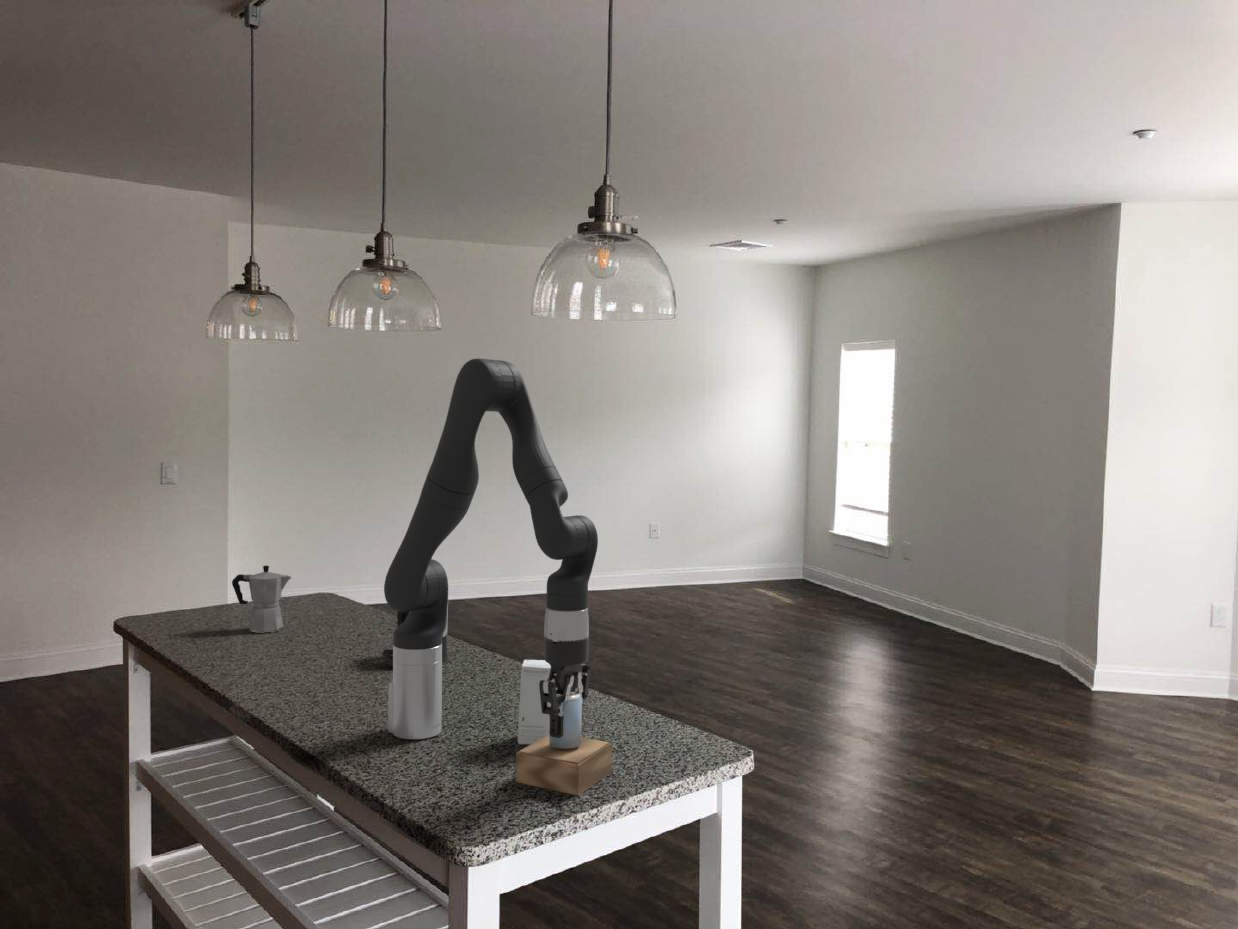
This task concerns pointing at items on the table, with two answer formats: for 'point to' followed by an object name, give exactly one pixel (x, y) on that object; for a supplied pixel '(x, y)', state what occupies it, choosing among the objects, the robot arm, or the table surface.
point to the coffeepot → (263, 598)
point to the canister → (569, 723)
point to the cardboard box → (564, 765)
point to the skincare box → (532, 702)
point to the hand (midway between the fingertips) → (564, 731)
